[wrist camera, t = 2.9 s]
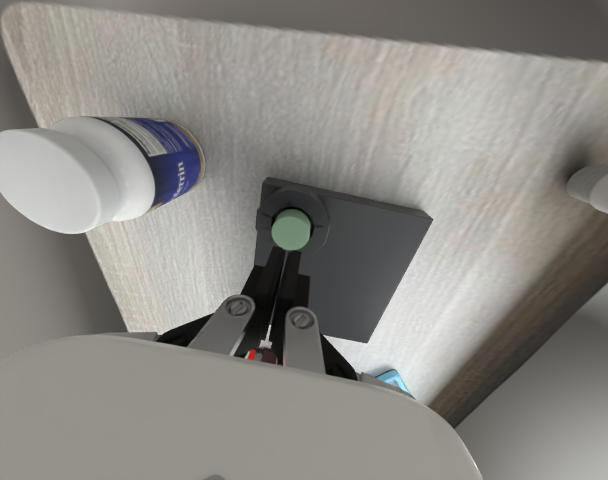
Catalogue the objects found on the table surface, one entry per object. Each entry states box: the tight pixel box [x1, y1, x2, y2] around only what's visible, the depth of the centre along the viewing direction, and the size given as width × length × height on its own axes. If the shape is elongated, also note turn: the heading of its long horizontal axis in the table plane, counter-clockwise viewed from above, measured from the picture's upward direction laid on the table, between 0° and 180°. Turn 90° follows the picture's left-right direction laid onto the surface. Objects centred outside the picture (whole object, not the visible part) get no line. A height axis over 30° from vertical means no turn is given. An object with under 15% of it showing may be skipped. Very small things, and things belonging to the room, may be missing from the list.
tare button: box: [272, 209, 310, 250], centre depth 16 cm, size 3×3×2 cm
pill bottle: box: [0, 116, 205, 234], centre depth 14 cm, size 6×6×10 cm
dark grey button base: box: [254, 177, 433, 343], centre depth 21 cm, size 16×14×4 cm
